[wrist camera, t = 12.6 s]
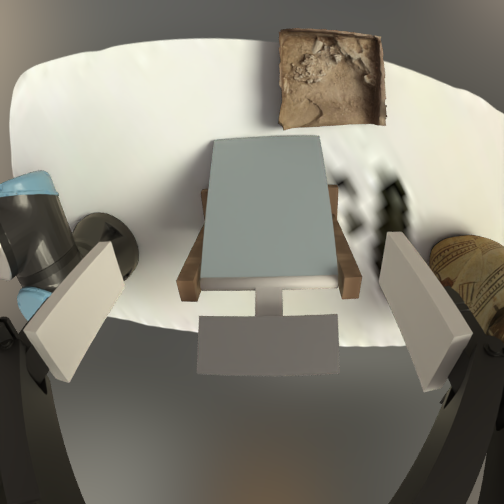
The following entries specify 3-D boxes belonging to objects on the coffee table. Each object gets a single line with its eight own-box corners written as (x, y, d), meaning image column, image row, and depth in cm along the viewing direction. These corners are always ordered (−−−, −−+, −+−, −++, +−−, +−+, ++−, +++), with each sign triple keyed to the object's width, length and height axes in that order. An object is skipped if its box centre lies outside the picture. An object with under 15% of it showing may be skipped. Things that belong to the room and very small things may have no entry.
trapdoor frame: (211, 252, 53) (185, 328, 36) (202, 189, 47) (163, 246, 31) (332, 249, 51) (356, 325, 34) (336, 184, 45) (371, 240, 29)
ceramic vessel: (399, 292, 55) (452, 415, 29) (453, 205, 45) (554, 305, 19) (453, 312, 57) (504, 411, 31) (501, 240, 47) (579, 327, 21)
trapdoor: (204, 372, 34) (187, 372, 27) (218, 156, 46) (210, 126, 40) (336, 372, 32) (349, 372, 26) (317, 152, 45) (320, 121, 38)
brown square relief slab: (279, 132, 38) (263, 31, 31) (279, 129, 42) (264, 36, 34) (392, 126, 36) (382, 29, 29) (383, 123, 40) (373, 33, 32)
